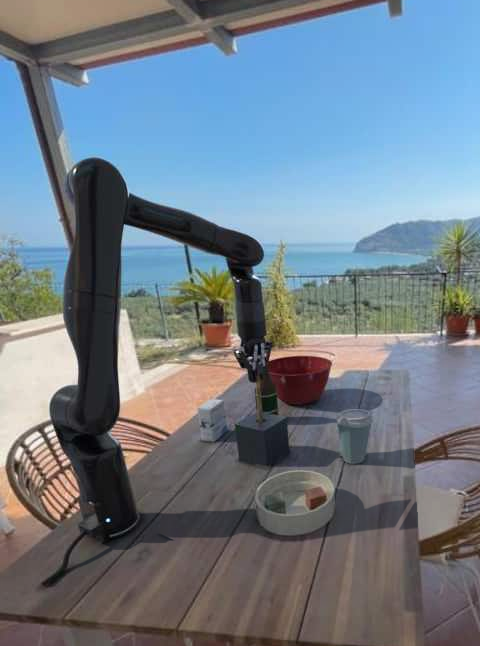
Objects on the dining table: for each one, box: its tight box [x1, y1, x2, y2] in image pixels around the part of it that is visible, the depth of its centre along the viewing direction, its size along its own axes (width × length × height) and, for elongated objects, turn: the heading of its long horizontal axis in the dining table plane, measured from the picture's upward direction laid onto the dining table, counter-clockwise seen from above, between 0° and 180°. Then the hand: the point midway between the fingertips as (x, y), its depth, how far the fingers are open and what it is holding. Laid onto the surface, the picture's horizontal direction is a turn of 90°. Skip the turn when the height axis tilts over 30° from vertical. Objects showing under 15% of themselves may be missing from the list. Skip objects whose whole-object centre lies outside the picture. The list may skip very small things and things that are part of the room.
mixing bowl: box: [268, 355, 333, 406], centre depth 160 cm, size 28×28×16 cm
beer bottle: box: [254, 355, 279, 416], centre depth 138 cm, size 8×8×24 cm
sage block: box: [265, 492, 286, 514], centre depth 91 cm, size 4×4×4 cm
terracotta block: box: [305, 486, 326, 511], centre depth 93 cm, size 4×4×4 cm
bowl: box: [254, 469, 336, 537], centre depth 92 cm, size 18×18×6 cm
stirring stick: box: [250, 362, 263, 423], centre depth 111 cm, size 3×3×21 cm
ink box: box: [197, 398, 228, 443], centre depth 129 cm, size 9×5×12 cm, turn 169°
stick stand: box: [234, 411, 290, 468], centre depth 115 cm, size 11×11×12 cm
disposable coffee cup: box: [336, 408, 374, 465], centre depth 114 cm, size 11×11×15 cm
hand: (257, 380), depth 109 cm, fingers closed on stirring stick, 2 cm apart
